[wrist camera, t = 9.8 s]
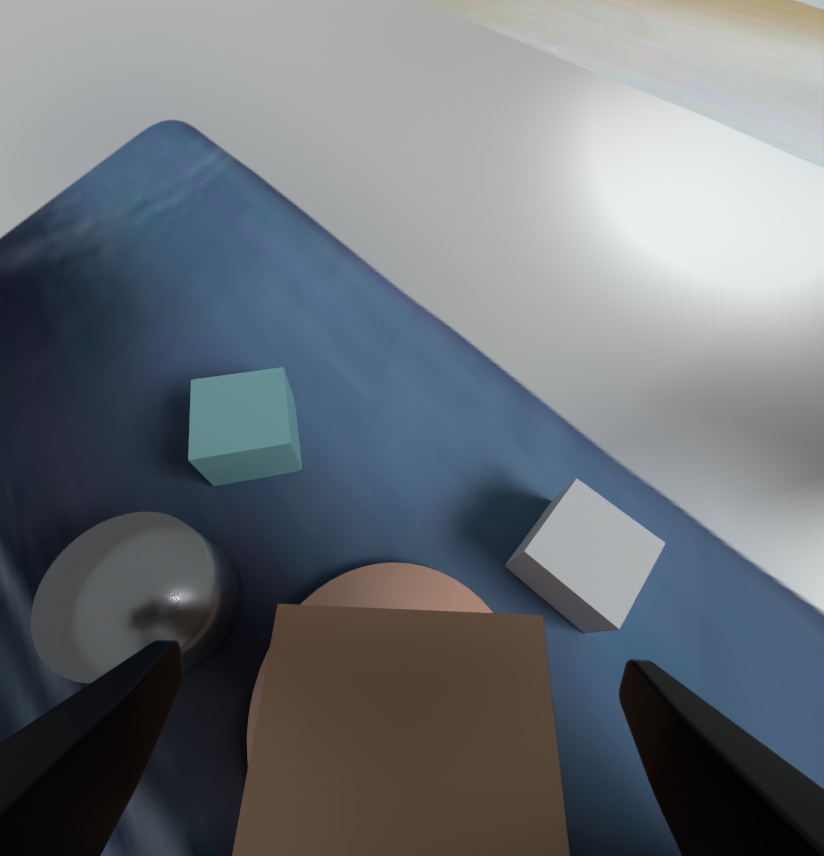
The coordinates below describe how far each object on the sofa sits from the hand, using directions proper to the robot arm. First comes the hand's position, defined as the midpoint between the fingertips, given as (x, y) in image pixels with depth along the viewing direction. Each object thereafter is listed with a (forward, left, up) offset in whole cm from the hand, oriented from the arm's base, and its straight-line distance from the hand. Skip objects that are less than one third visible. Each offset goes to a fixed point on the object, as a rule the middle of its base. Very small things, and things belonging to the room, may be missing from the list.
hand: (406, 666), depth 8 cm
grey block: (+5, -7, -9) cm, 12 cm away
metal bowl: (+1, +9, -9) cm, 12 cm away
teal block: (+9, +8, -9) cm, 15 cm away
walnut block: (-1, 0, -8) cm, 8 cm away
